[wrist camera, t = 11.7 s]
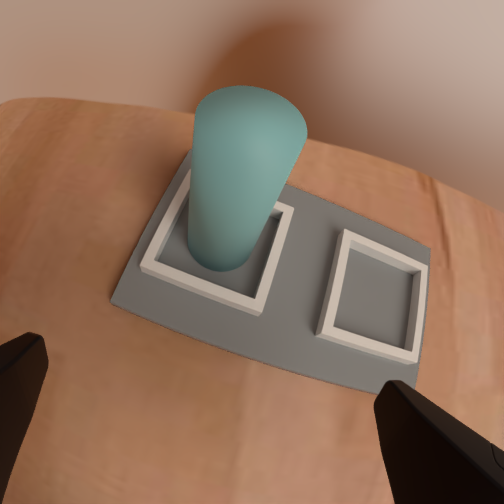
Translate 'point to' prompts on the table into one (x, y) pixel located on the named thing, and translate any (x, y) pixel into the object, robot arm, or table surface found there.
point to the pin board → (290, 290)
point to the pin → (238, 170)
